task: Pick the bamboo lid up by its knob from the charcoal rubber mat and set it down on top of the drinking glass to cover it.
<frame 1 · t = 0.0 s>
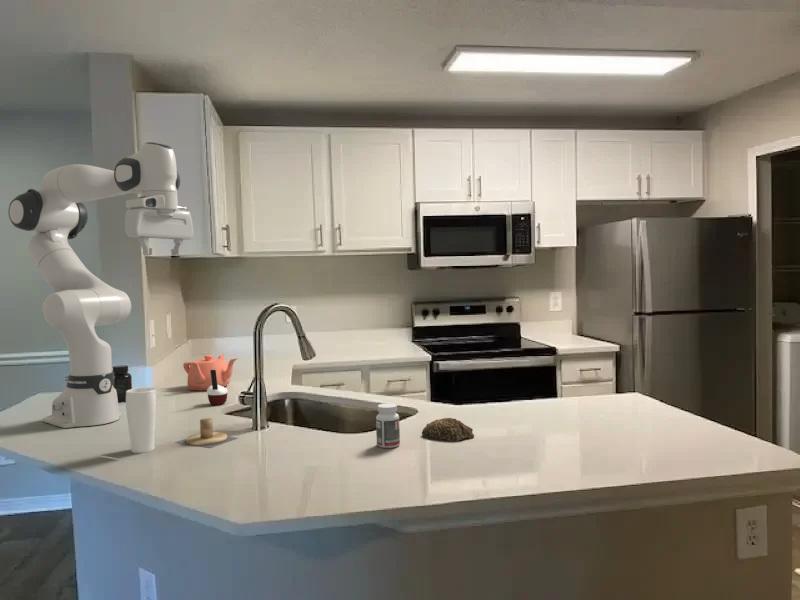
hand: (162, 255, 167), 48 cm above the table, fingers open, 8 cm apart
pot: (211, 388, 235), on the table
pill bottle: (388, 446, 152), on the table
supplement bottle: (121, 401, 213), on the table
lid: (206, 440, 158), resting on mat
drinking glass: (142, 452, 151), on the table
mat: (206, 441, 158), on the table
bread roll: (449, 437, 161), on the table
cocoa: (217, 405, 205), on the table
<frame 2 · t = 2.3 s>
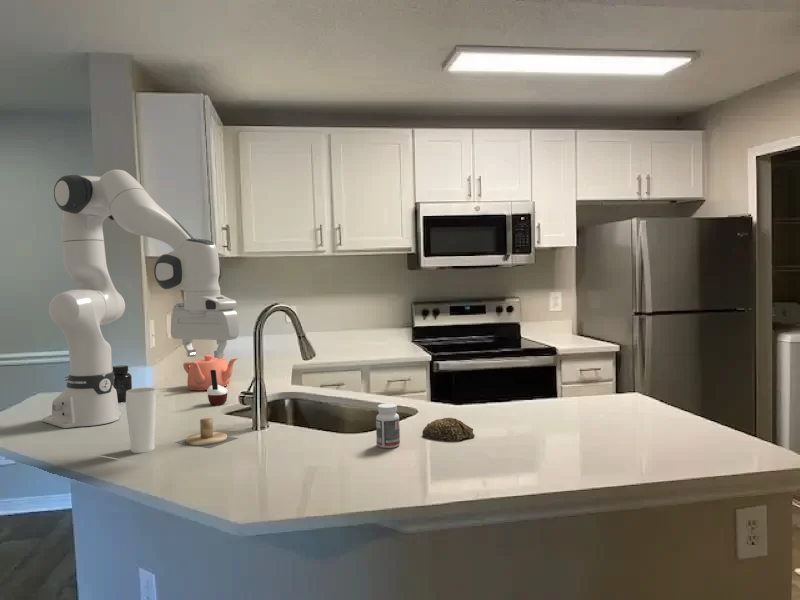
hand: (204, 357, 157), 22 cm above the table, fingers open, 8 cm apart
nothing on the table moved.
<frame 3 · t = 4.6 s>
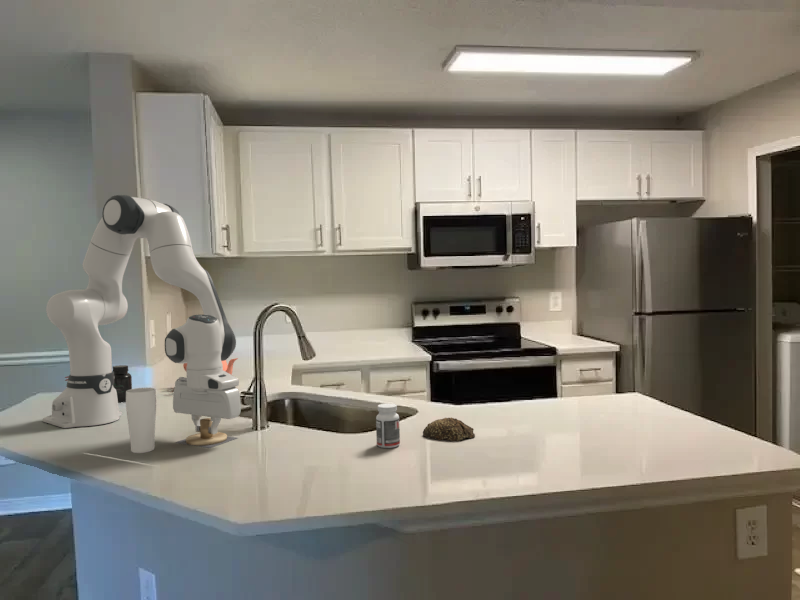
hand: (206, 432, 158), 2 cm above the table, fingers closed on lid, 3 cm apart
lid: (206, 440, 158), resting on mat, touching gripper
everything else where it was.
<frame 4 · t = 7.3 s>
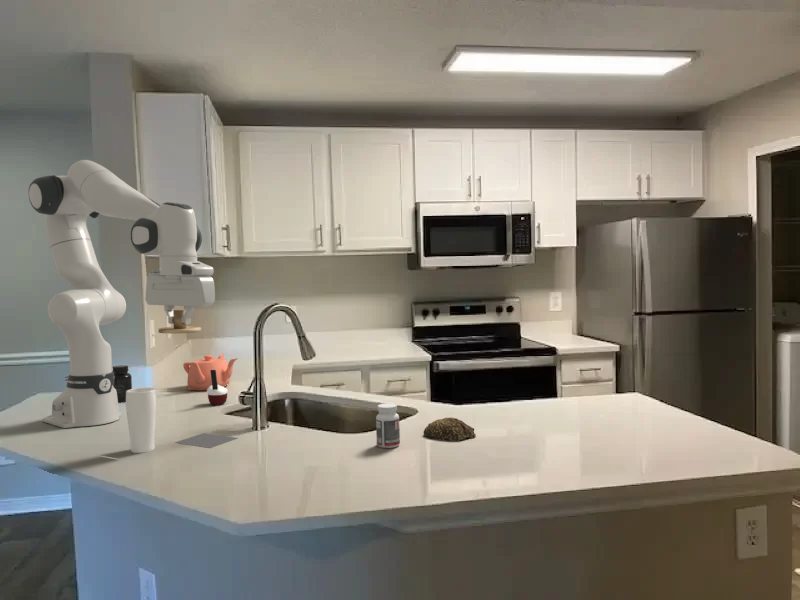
hand: (179, 323, 154), 30 cm above the table, fingers closed on lid, 3 cm apart
lid: (180, 331, 155), point 29 cm above the table, touching gripper
everything else where it was.
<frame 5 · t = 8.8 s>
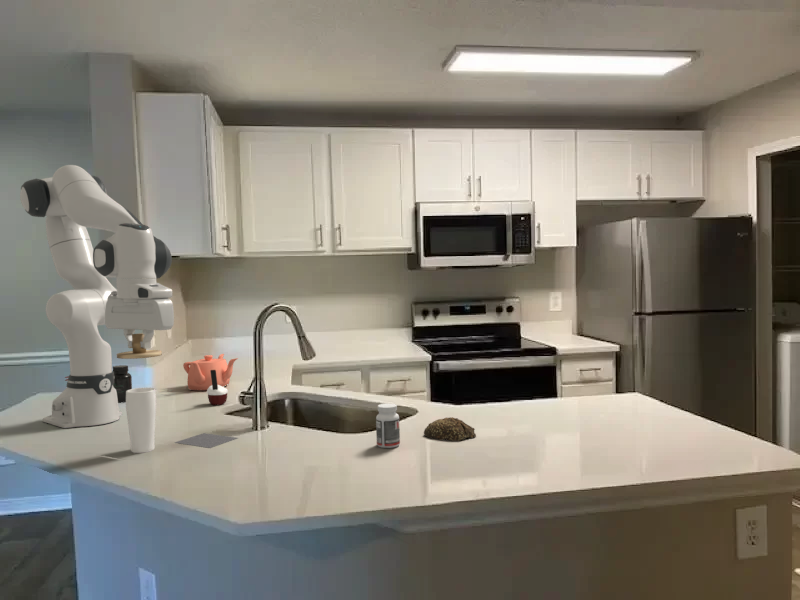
hand: (139, 348, 149), 25 cm above the table, fingers closed on lid, 3 cm apart
lid: (139, 355, 150), point 23 cm above the table, touching gripper
everything else where it was.
when the fingers open (19 cm above the table, at t = 9.9 s): lid drops 2 cm, resting on drinking glass.
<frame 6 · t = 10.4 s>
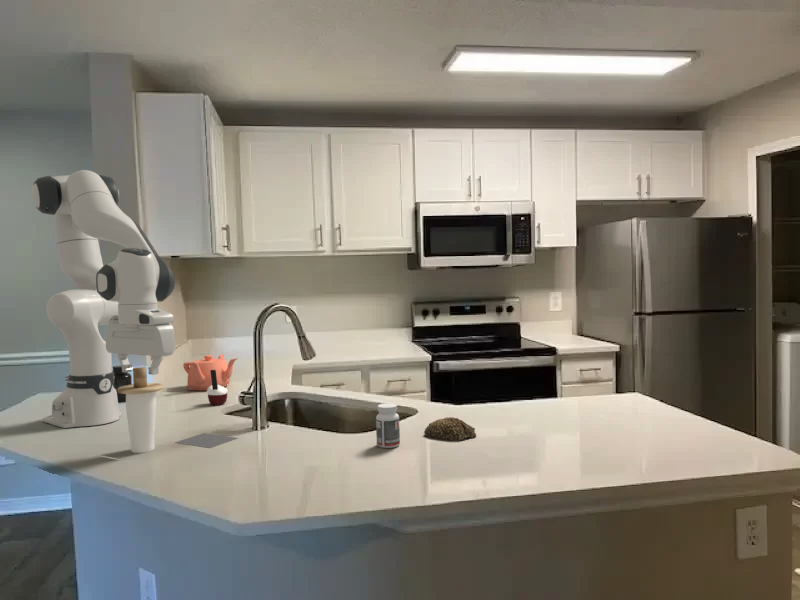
hand: (140, 373, 150), 19 cm above the table, fingers open, 8 cm apart
lid: (140, 390, 150), point 15 cm above the table, touching drinking glass
drinking glass: (142, 452, 151), on the table, touching lid
everything else where it was.
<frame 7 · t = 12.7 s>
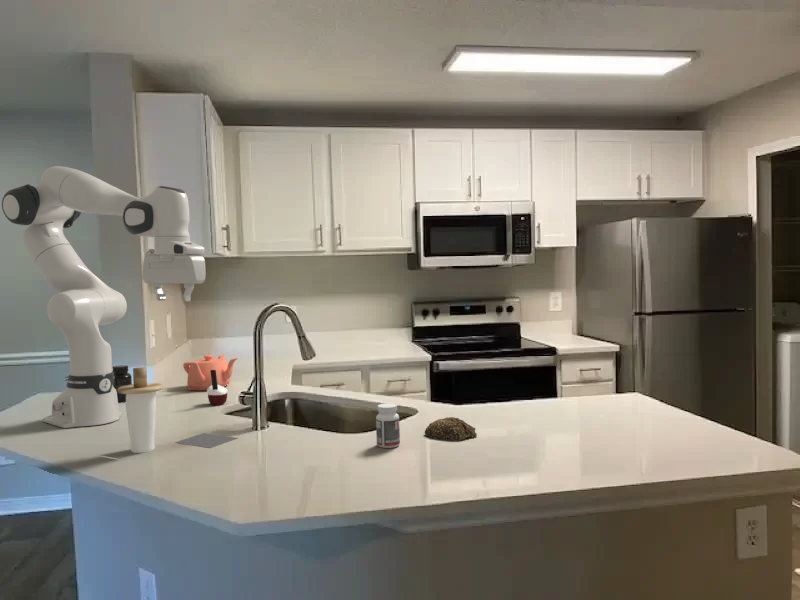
hand: (173, 300, 164), 36 cm above the table, fingers open, 8 cm apart
nothing on the table moved.
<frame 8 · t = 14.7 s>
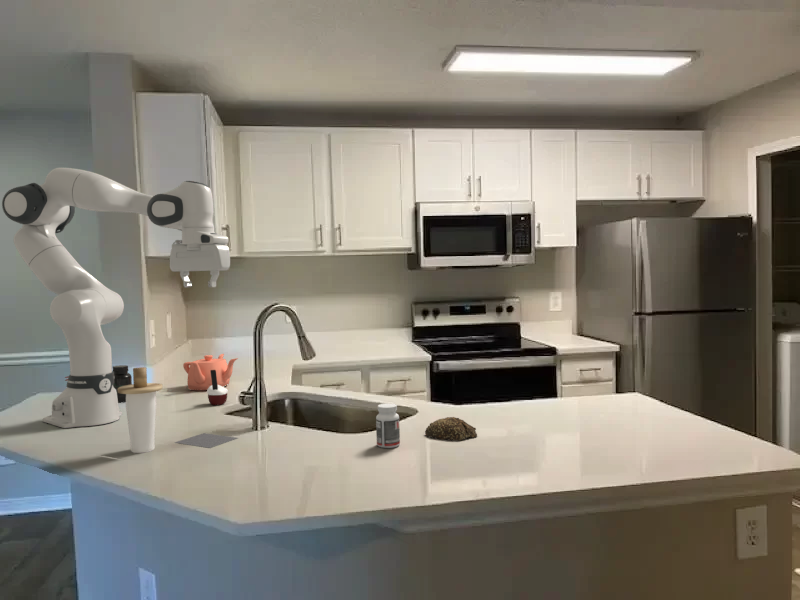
hand: (199, 287, 177), 39 cm above the table, fingers open, 8 cm apart
at the end: lid 0.1 cm off-centre on the drinking glass, point 15.2 cm above the drinking glass's base; drinking glass tilted 0°; the gripper is holding nothing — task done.
